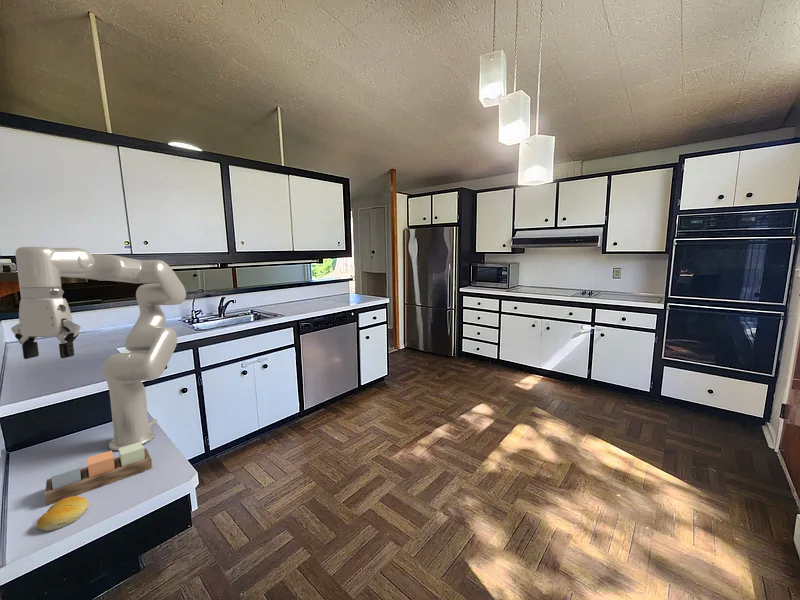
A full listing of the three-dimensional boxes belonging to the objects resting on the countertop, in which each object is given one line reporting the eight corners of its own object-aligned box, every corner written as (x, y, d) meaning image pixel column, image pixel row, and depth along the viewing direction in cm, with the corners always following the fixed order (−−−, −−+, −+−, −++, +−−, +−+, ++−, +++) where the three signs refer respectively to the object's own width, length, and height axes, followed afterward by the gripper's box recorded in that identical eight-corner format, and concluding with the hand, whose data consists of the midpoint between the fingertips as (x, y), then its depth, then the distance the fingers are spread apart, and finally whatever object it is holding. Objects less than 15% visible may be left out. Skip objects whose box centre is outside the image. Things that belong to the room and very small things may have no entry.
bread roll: (29, 537, 76) (26, 520, 75) (56, 510, 84) (54, 495, 84) (74, 528, 78) (72, 512, 78) (96, 502, 87) (94, 488, 86)
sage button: (142, 453, 105) (141, 441, 104) (145, 460, 101) (144, 447, 100) (119, 460, 101) (118, 448, 100) (122, 468, 97) (120, 455, 97)
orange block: (113, 463, 100) (111, 450, 99) (114, 470, 96) (113, 457, 96) (88, 471, 96) (87, 457, 96) (89, 479, 92) (87, 465, 92)
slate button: (80, 473, 95) (79, 460, 94) (81, 481, 91) (79, 468, 91) (53, 482, 91) (51, 468, 91) (52, 491, 87) (51, 477, 87)
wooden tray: (147, 457, 107) (146, 448, 107) (152, 468, 101) (151, 459, 100) (47, 489, 92) (46, 479, 91) (46, 505, 85) (45, 495, 85)
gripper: (87, 292, 92) (94, 353, 93) (25, 293, 92) (32, 354, 93) (60, 294, 84) (67, 360, 86) (-8, 295, 84) (0, 361, 86)
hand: (49, 357), depth 90 cm, fingers open, 9 cm apart
